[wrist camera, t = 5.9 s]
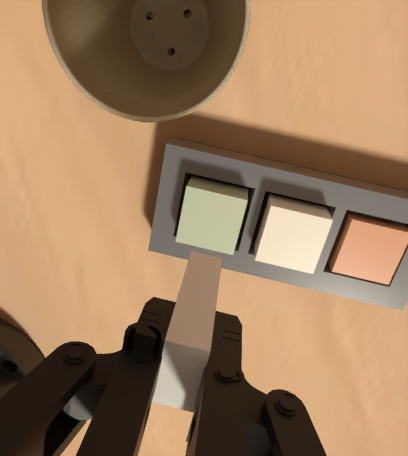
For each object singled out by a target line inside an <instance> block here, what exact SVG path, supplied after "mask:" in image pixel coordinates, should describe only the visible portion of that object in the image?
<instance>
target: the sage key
mask: <svg viewBox="0 0 408 456" xmlns="http://www.w3.org/2000/svg"><path fill="white" fill-rule="evenodd" d="M247 202H248V189H246V188H242V187H237V186H233V185H229V184H224V183H220V182H216V181H212V180H207V179H203V178H199V177H194V176H192V177H191V179H190V180H189V182H188V184H187V186H186V191H185V196H184V201H183V206H182V211H181V216H180V221H179V226H178V231H177V237H176V242H180V243H184V244H188V245H192V246H196V247H201V248H205V249H209V250H213V251H217V252H222V253H226V254H230V255H233V254H234V250H235V247H236V243H237V239H238V235H239V232H240V228H241V224H242V221H243V217H244V213H245V209H246V206H247Z"/></svg>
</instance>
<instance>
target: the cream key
mask: <svg viewBox="0 0 408 456" xmlns="http://www.w3.org/2000/svg"><path fill="white" fill-rule="evenodd" d="M332 222H333V219H332V217H331V215H330V214H329V212H328V210H327V208H326V207H323V206H319V205H315V204H310V203H306V202H302V201H297V200H293V199H289V198H285V197H280V196H276V195H272V194H269V197H268V200H267V203H266V207H265V210H264V214H263V217H262V221H261V224H260V228H259V231H258V235H257V238H256V241H255V261H260V262H264V263H268V264H272V265H276V266H281V267H285V268H289V269H293V270H298V271H302V272H306V273H310V274H313V273H314V271H315V268H316V265H317V263H318V260H319V257H320V254H321V252H322V249H323V246H324V244H325V241H326V238H327V236H328V233H329V230H330V228H331V225H332Z"/></svg>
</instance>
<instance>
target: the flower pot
mask: <svg viewBox="0 0 408 456" xmlns="http://www.w3.org/2000/svg"><path fill="white" fill-rule="evenodd" d="M42 9H43V16H44V22H45V27H46V31H47V34H48V37H49V41H50V43H51V46H52V49H53V51H54V53H55V55H56V57H57V59H58V61H59V63H60V65H61V66H62V68H63V70H64V71H65V73H66V74H67V76H68V77H69V78H70V80H71V81H72V82H73V83H74V85H75V86H76V87H77V88H78V89H79V90H80V91H81V92H82V93H83V94H84V95H85V96H86V97H87V98H89V99H90V100H91V101H92V102H94V103H95V104H96V105H98V106H100V107H101V108H103V109H105V110H106V111H108V112H110V113H112V114H115V115H117V116H120V117H123V118H126V119H130V120H134V121H141V122H163V121H169V120H173V119H177V118H180V117H183V116H186V115H188V114H190V113H192V112H194V111H196V110H197V109H199V108H201V107H202V106H204V105H205V104H206V103H208V102H209V101H210V100H211V99H212V98H214V97H215V96H216V95H217V93H218V92H219V91H220V90H221V89H222V88H223V87H224V85H225V84H226V83H227V81H228V80H229V79H230V77H231V75H232V74H233V72H234V70H235V69H236V67H237V65H238V62H239V60H240V58H241V55H242V53H243V50H244V47H245V43H246V39H247V35H248V30H249V23H250V0H42ZM186 10H188V13H187V14H184V12H185V11H186ZM147 17H150V18H151V20H148V19H147ZM172 49H174V51H175V53H174V54H173V53H172Z"/></svg>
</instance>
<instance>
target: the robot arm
mask: <svg viewBox="0 0 408 456" xmlns="http://www.w3.org/2000/svg"><path fill="white" fill-rule="evenodd" d="M221 263H222V258H218V257H214V256H210V255H206V254H202V253H198V252H193V251H191V254H190V258H189V261H188V264H187V268H186V271H185V274H184V278H183V281H182V284H181V288H180V291H179V294H178V298H177V301H176V302H173V301H168V300H164V299H160V298H156V297H153V298H152V299H150V300H149V301H148V302H146V304H145V306H144V308H143V311H142V313H141V315H140V318H139V320H138V322H137V323H134V324H132V325H130V326H128V328H127V329H126V330H125V336H124V342H123V348H122V350H120V351H118V352H115V353H109V354H96V352H95V350H94V348H93V347H92V346H90V345H89V344H87V343H83V342H68V343H65V344H63V345H61V346H59V347H58V348H56V349H55V350H54V351H53V352H52V353H51V354H50V355H49V356H47V357H46V358H45V359H44V358H43V356H42V355H41V353H40V352H39V351H38V349H37V348H36V347H35V346H34V345H33V344H32V343H31V342H30V341H29V340H28V339H27V338H26V337H25V336H24V335H23V334H22V333H20V332H19V331H18V330H16V329H15V328H13V327H12V326H10V325H9V324H7V323H5V322H4V321H2V320H0V456H60V455H61V454H62V452H63V451H64V450H65V449H66V447H67V446H68V445H69V443H70V442H71V441H72V440H73V438H74V437H75V436H76V435H77V433H78V432H79V431H80V429H81V428H82V427H83V426H84V424H85V423H86V421H87V420H88V419H92V420H91V422H90V425H89V427H88V429H87V431H86V434H85V436H84V438H83V441H82V443H81V445H80V448H79V450H78V452H77V454H76V456H138V452H139V448H140V445H141V441H142V438H143V434H144V430H145V427H146V423H147V419H148V416H149V411H150V407H151V403H152V402H153V403H157V404H161V405H166V406H170V407H174V408H178V409H182V410H186V411H190V412H194V415H193V418H192V422H191V425H190V429H189V432H188V436H187V439H186V441H187V442H188V444H187V450H186V456H327V455H326V453H325V451H324V448H323V446H322V444H321V442H320V439H319V437H318V435H317V432H316V430H315V428H314V426H313V423H312V421H311V419H310V416H309V414H308V412H307V410H306V407H305V406H304V404H303V403H302V401H301V400H300V399H299V398H298V397H297V396H295V395H294V394H292V393H290V392H288V391H285V390H281V389H278V390H272V391H271V392H269V393H268V394H265V393H263V392H261V391H259V390H257V389H256V388H254V387H253V386H251V385H250V384H249V383H248V382H247V381H246V379H245V377H244V374H243V372H242V369H241V359H242V343H241V342H242V324H241V322H240V321H239V319H238V317H237V316H234V315H230V314H226V313H222V312H218V311H216V303H217V295H218V287H219V279H220V271H221Z"/></svg>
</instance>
